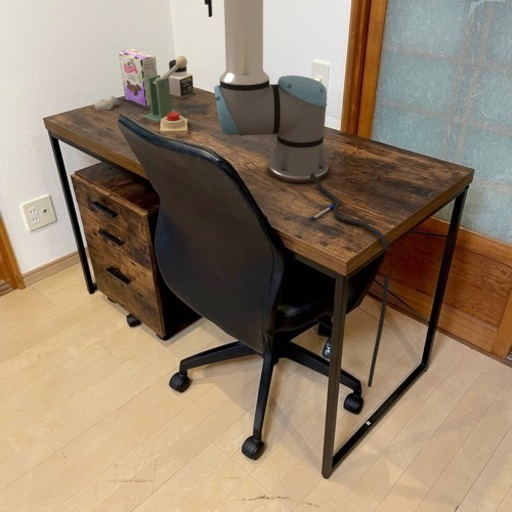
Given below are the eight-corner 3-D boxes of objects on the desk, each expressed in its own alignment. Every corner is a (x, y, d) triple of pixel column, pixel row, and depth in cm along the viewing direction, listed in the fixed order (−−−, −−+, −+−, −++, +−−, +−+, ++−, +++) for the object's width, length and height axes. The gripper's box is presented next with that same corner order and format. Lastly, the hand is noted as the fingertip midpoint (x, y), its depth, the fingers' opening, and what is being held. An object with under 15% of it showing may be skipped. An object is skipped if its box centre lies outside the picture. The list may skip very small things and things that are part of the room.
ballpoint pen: (337, 203, 123) (337, 199, 122) (340, 204, 123) (340, 200, 122) (310, 220, 116) (311, 216, 116) (313, 221, 116) (314, 217, 115)
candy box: (124, 99, 185) (117, 50, 176) (139, 96, 189) (133, 48, 179) (146, 109, 177) (140, 58, 168) (160, 105, 180) (155, 55, 171)
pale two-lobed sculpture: (100, 118, 173) (92, 109, 175) (121, 112, 178) (113, 104, 180) (100, 106, 170) (91, 98, 172) (121, 100, 174) (113, 92, 176)
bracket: (166, 111, 175) (162, 72, 168) (181, 116, 171) (178, 76, 164) (142, 119, 169) (137, 78, 162) (157, 124, 165) (152, 83, 158)
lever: (183, 62, 170) (179, 52, 168) (191, 64, 168) (186, 54, 166) (154, 89, 166) (149, 80, 163) (161, 92, 164) (156, 82, 161)
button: (179, 121, 157) (179, 116, 156) (167, 122, 156) (166, 116, 155) (179, 117, 160) (179, 112, 159) (167, 118, 159) (166, 112, 158)
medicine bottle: (181, 99, 186) (178, 64, 179) (165, 96, 189) (162, 61, 182) (194, 94, 191) (191, 59, 184) (178, 91, 194) (176, 57, 187)
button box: (188, 137, 156) (187, 124, 154) (160, 138, 156) (159, 125, 153) (187, 125, 165) (186, 112, 162) (161, 126, 164) (160, 113, 162)
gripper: (275, -65, 153) (273, 15, 165) (189, -65, 154) (194, 13, 166) (273, -63, 147) (272, 19, 159) (185, -64, 148) (190, 18, 160)
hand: (232, 16), depth 163 cm, fingers open, 13 cm apart
